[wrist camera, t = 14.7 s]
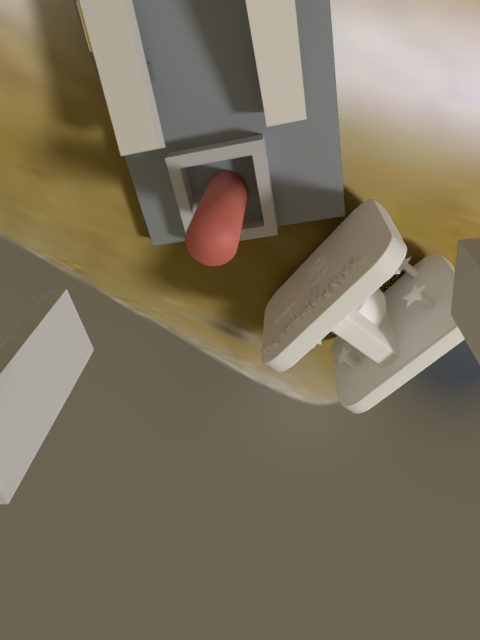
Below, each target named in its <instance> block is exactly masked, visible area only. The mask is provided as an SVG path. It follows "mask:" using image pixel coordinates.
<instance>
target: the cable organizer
mask: <svg viewBox="0 0 480 640" xmlns="http://www.w3.org/2000/svg"><path fill="white" fill-rule="evenodd" d="M406 253H407V247H406V244H405V243H404V241H403V239H402V237H401V235H400V234H399V232H398V230H397V228H396V227H395V225H394V223H393V221H392V219H391V218H390V216H389V214H388V212H387V211H386V210H385V209H384V208H383V207H382V206H381V205H380V204H378V203H377V202H376V201H375V200H374V199H369V200H367V201H365V202H363V203H362V204H360V205H359V206H358V207H357V208H355V209H354V210H353V211H352V212H351V213H350V214H349V215H348V216H347V217H346V218H345V219H344V221H343V222H342V223H341V224H340V225H339V226H338V227H337V228H336V229H335V230H334V231H333V232H332V233H331V234H330V235H329V236H328V237H327V238H326V239H325V241H324V242H323V243H322V244H321V245H320V246H319V247H318V248H317V249H316V250H315V251H314V252H313V253H312V254H311V255H310V256H309V257H308V258H307V259H306V261H305V262H304V263H303V264H302V265H301V266H300V267H299V268H298V269H297V270H296V271H295V272H294V273H293V274H292V275H291V276H290V277H289V278H288V279H287V281H286V282H285V283H284V284H283V285H282V286H281V287H280V288H279V289H278V290H277V291H276V292H275V294H274V295H273V296H272V298H271V299H270V301H269V302H268V304H267V306H266V309H265V313H264V329H263V345H262V348H261V351H262V362H263V363H265V364H266V365H268V366H269V367H271V368H272V369H274V370H276V371H277V372H282V371H285V370H287V369H289V368H290V367H292V366H293V365H294V364H295V363H296V362H297V361H298V360H300V359H301V358H302V357H303V356H304V355H305V354H306V353H307V352H308V351H310V350H311V349H312V348H314V347H315V346H316V344H320V345H321V340H322V339H323V338H324V337H325V336H326V335H327V334H328V333H330V332H333V333H334V334H336V335H337V337H336V338H335V340H334V342H333V344H332V349H331V350H332V357H333V364H334V370H335V377H336V384H337V390H338V397H339V402H340V404H341V405H342V406H344V407H345V408H347V409H348V410H350V411H351V412H353V413H362V412H365V411H367V410H369V409H370V408H372V407H373V406H374V405H376V404H377V403H378V402H380V401H381V400H383V399H384V398H385V397H387V396H388V395H389V394H391V393H392V392H393V391H395V390H396V389H397V388H399V387H400V386H402V385H403V384H404V383H406V382H407V381H408V380H410V379H411V378H413V377H414V376H415V375H416V374H418V373H419V372H421V371H422V370H423V369H425V368H426V367H427V366H429V365H430V364H432V363H433V362H434V361H436V360H437V359H438V358H440V357H441V356H442V355H444V354H445V353H447V352H448V351H449V350H451V349H452V348H453V347H455V346H456V345H457V344H459V343H460V342H461V341H463V340H464V339H465V338H464V337H463V335H462V333H461V331H460V330H459V328H458V326H457V324H456V323H455V321H454V319H453V318H452V316H451V304H452V294H453V285H454V275H455V268H454V267H453V265H452V264H451V263H450V262H449V261H448V260H447V259H446V258H445V257H443V256H442V255H441V254H439V253H434V254H431V255H429V256H426V257H425V258H423V259H422V260H420V261H419V262H418V263H416V264H415V265H414V266H413V267H412V266H411V265H410V264H409V263H408V262H409V260H410V258H411V257H412V256H411V257H409V258H407V259H406V258H405V256H406ZM399 267H400V268H399ZM403 269H404V270H405V271H406V273H405V274H404V275H403V276H402V277H401V278H399V279H398V280H397V281H396V282H395V283H394V284H393V285H392V286H390V287H389V288H388V289H387V290H386V291H385V292H384V293H383V292H382V291H381V290H380V289H379V287H381V286H382V285H383V284H384V283H385V282H386V281H387V280H388V279H390V278H391V277H392V276H393V275H394V274H400V272H401V271H402V270H403Z"/></svg>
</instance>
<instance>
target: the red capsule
mask: <svg viewBox="0 0 480 640" xmlns="http://www.w3.org/2000/svg"><path fill="white" fill-rule="evenodd" d="M247 197H248V186H247V183H246V181H245V180H244V178H243V177H242V176H241V175H240V174H238V173H236V172H234V171H230V170H223V171H220V172H218V173H216V174H215V175H213V176H212V178H211V179H210V181H209V183H208V185H207V187H206V189H205V191H204V194H203V196H202V198H201V200H200V202H199V205H198V207H197V209H196V211H195V213H194V216H193V218H192V220H191V222H190V224H189V227H188V229H187V231H186V234H185V245H186V248H187V250H188V252H189V254H190V255H191V256H192V258H194V259H195V260H196V261H197V262H199V263H201V264H204V265H207V266H220V265H223V264H225V263H227V262H229V261H230V260H231V259H232V258H233V257H234V255H235V254H236V251H237V248H238V244H239V238H240V233H241V228H242V223H243V218H244V212H245V207H246V202H247Z"/></svg>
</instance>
